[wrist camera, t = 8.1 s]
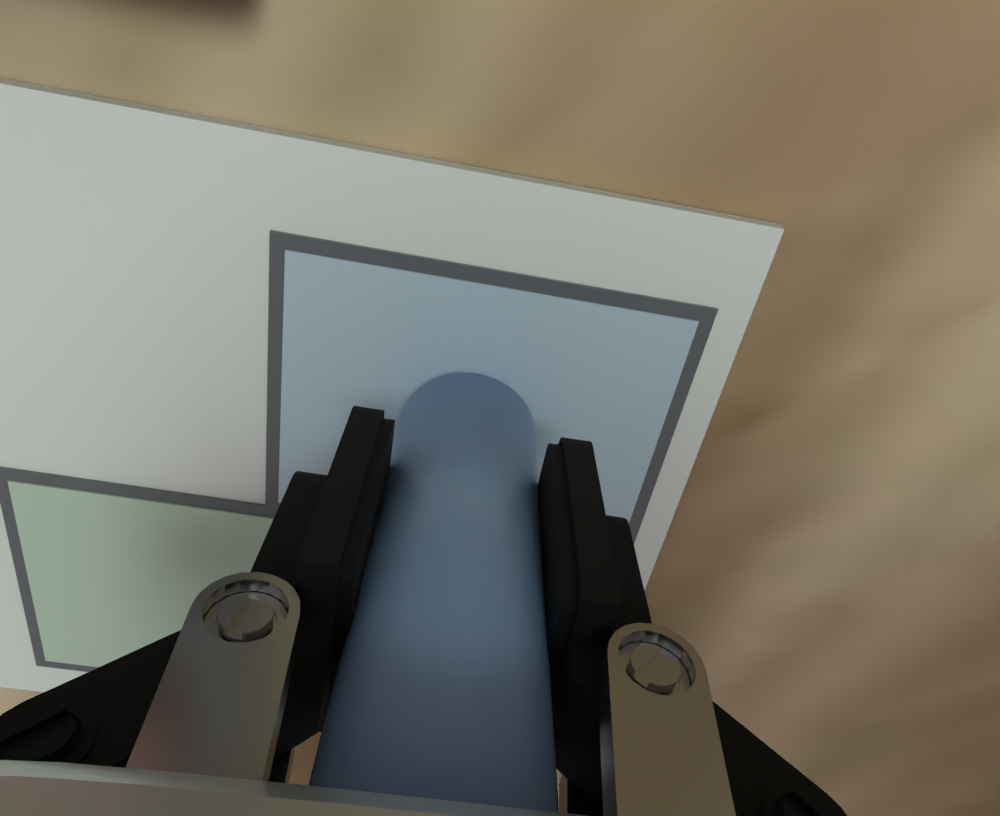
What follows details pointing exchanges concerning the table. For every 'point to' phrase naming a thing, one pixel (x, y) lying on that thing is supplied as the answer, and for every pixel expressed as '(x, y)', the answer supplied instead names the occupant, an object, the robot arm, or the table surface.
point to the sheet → (304, 343)
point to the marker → (450, 615)
